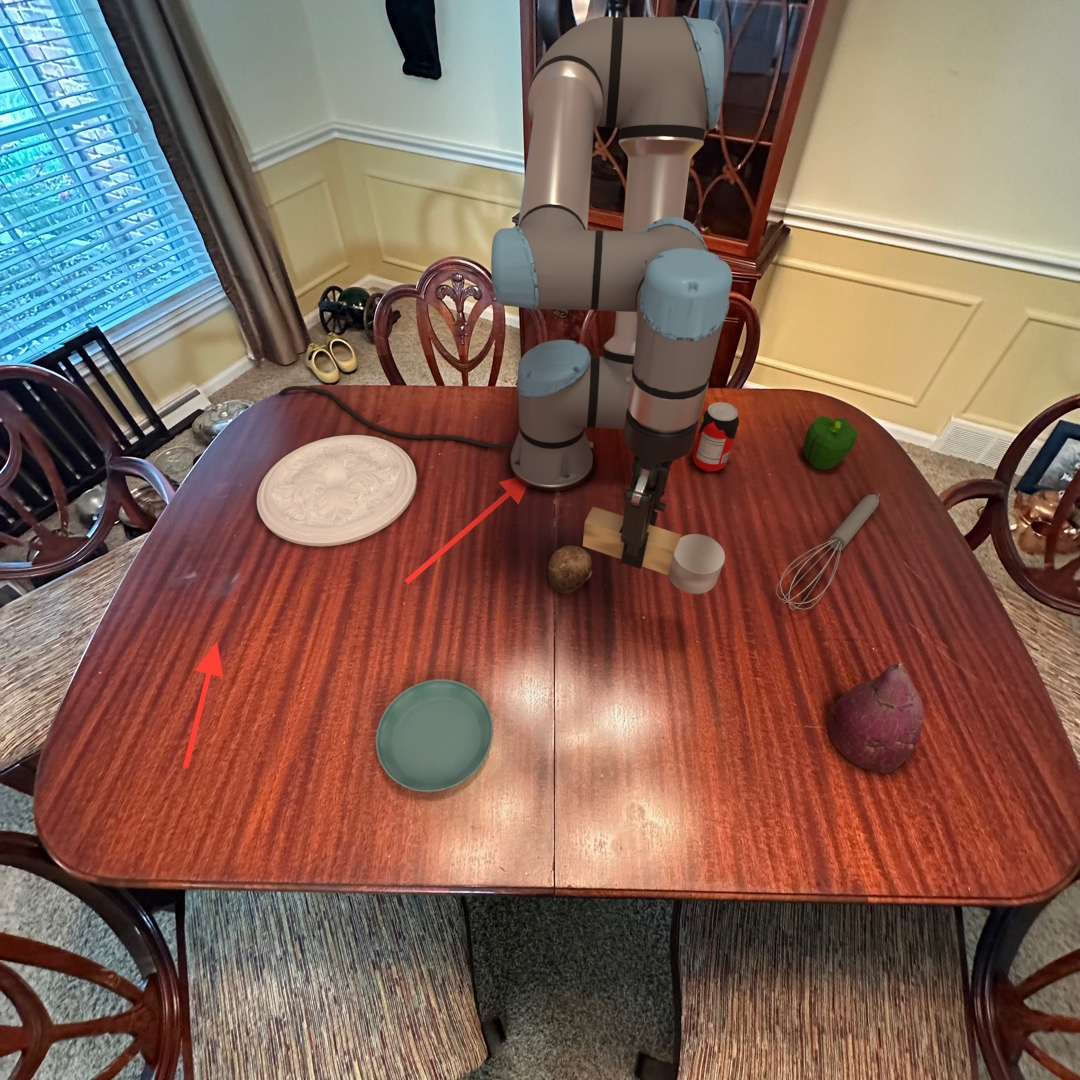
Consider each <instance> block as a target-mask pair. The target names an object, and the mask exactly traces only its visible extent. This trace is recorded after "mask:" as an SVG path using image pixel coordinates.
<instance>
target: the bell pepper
mask: <svg viewBox="0 0 1080 1080" xmlns="http://www.w3.org/2000/svg"><path fill="white" fill-rule="evenodd" d="M857 439H858V430H857V429H856V428H854V427H853V426H852V424H850V422H849V421H848V420H847V419H846V418H839V417H836V418H834V419H832V418H830V417H829V416H824V415H820V416H818V418H816V419H815V420H814V421H812V423H811V424H810V425H808V429H807V432H806V434H805V436H804V442H803V452H802V453H803V457H804V458H805V460H806V461H808V462H809V465H810V466H812V467H813V468H814V469H818V470H820V471H828V470H830V469H832V468H834V467H836V466H837V465H838V464H839V463H841V461H842V460H843V459H844V458H845V457H846V456H847V455H848V454H849V453H850V452H851V450H852V449H853V448H854V445H855V444H856V442H857Z"/></svg>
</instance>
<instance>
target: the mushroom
mask: <svg viewBox="0 0 1080 1080" xmlns="http://www.w3.org/2000/svg"><path fill="white" fill-rule="evenodd" d="M592 566H593V558H592V557H591V554H589V552H588V551H587V550H586V549H585V548H583V547H581V546H579V545H564V546H563V547H561V548H558V549H556V551H555V552H554V553H553V554H552V555H551V557H550V559H549V561H548V565H547V569H546V570H547V577H548V581H549V584H550V587H551V588H552V589H553V590H555V591H556V592H558V593H560V594H571V593H573V592H575V591H577V590H578V589H580V588H581V587H582V586H583V585H584V584H585V582H586V581H588V580H589V579H590V578H591V577H592V576H593V570H592Z"/></svg>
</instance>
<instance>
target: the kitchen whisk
mask: <svg viewBox="0 0 1080 1080" xmlns="http://www.w3.org/2000/svg"><path fill="white" fill-rule="evenodd" d="M880 495H881V492H877V493H876V494H872V493H871V494H867V495H866V496H864V497H862V499H861V500H860V501H859V502H858V503H857V504H856V506H855V507H854V508H853V509H852V510H851V512H850V513H849V514H848V515H847V517H846V518H845V519H844V520H843V521H842V523H840V525H839V527H837V529H836V530H835V531H834V532H833V533H832V534H831V536H830V537H829V538H828V541H826V542H824V543H822V544H819V545H817V546H815V547H813V548H811V549H810V550H808V551H806V552H805V553H803V554H802V555H800V556H798V557H797V558H796V559H794V560H793V561H792V562H791V563H790V564H789V565H788V566H787V567H786V568H785V570H784V571H783V573H782V575H781V577H780V578H781V579H780V580H779V581H778V583H777V585H776V586H775V595H776V596H777V597H778V599H780V600H781V603H782V604H787V603H788V607H789V609H791V610H793V611H794V610H795V609H798V610H802V611H804V610H809V609H812V608H813V607H814V606H815V605H816V604H818V603H819V601H820V600H821V598H822V597H823V596H824V594H825V592H826V590H827V588H829V586H830V584H831V582H832V580H833V579H834V576H835V573H836V572H837V568H838V565H839V562H840V558H841V551H842V550H844V549H845V548H846V546H847V545H849V543H850V542H851V540H852V539H853V538H854V536H855V535H856V534H857V533H858V531H859V530H860V529H861V528H862V526H863V525H864V524H865V523H866V522H867V520H868V519H869V518H870V517H871V516H872V515H873V513H874V512H875V510H876V509H877V508H878V507H879V504H880V498H879V497H880ZM821 546H823V547H821ZM827 546H830V547H829V548H828V549H827V551H825V553H823V554H822V555H821V556H820V557H819V558H818V560H816V561H815V562H814V563H813V565H812V566H810V567H809V569H808V570H807V571H805V573H804V574H803V575H802V576H801V577H800V578H799V579H798V580H797V582H795V580H796V577H797V576H798V575H799V573H800V571H801V570H802V569H803V567H804V566H805V565H806V564H807V563H808V562H809V561H810V560H811V559H812V558H813V557H815V555H817V554H818V553H819V552H820V551H822V550H823V549H824V548H826V547H827ZM819 547H821V548H819ZM817 548H819V549H817ZM816 549H817V550H816ZM831 549H833V552H832V554H831V556H830V558H828V561H826V564H825V565H824V566H823V567H822V569H821V570H820V571H819V573H818V574H817V575H816V577H815V578H814V579H813V580H812V581H811V582H810V583H809V584H808V585H807V586H806V587H805V588H804V589H802V591H800V592H799V593H797V594H796V596H794V597H792V598H791V599H790V595H791V591H792V590H793V589H794V588H795V586H796V585H797V584H798V583H799V582H800V581H801V580H802V579H803V578H804V577H805V576H806V574H807V573H808V572H810V570H811V569H812V568H814V566H815V565H816V564H817V563H818V562H819V561H820V560H821V559H822V558H823V557H824V556H825V555H826V554H827V553H828V552H829V551H830V550H831ZM813 550H815V551H814V552H813V553H811V554H810V555H808V556H806V557H805V558H804V559H802V560H801V561H800V562H798V563H797V564H796V565H794V566H793V567H792V568H791V569H789V568H790V567H791V566H792V565H793V564H794V563H796V561H798V560H799V559H800V558H802V557H804V556H805V555H806V554H808V553H809V552H811V551H813ZM836 551H837V554H836V558H835V562H834V565H833V568H832V572H831V574H830V576H829V580H828V582H827V584H826V586H825V588H824V589H823V590H822V591H821V593H820V594H818V595H817V596H816V597H814V598H812V599H810V600H808V601H806V599H807V598H808V597H809V595H810V594H811V592H812V591H813V589H814V588H815V586H816V585H817V583H818V581H819V580H820V578H821V577H822V575H823V573H824V571H825V570H826V568H827V566H828V565H829V563H830V561H831V560H832V558H833V556H834V555H835V552H836ZM805 560H806V561H805ZM804 561H805V562H804ZM802 562H804V563H803V564H802V566H801V567H800V568H799V569H798V570H797V572H796V574H795V575H794V578H793V579H792V581H791V584H790V587H789V590H788V592H787V593H786V594H784V592H783V587H782V581H783V580H784V578H785V577H786V576H787V575H788V574H789V573H790V572H791V571H792V570H793V569H794V568H796V567H798V565H800V564H801V563H802ZM787 570H788V571H787ZM816 579H817V580H816ZM815 580H816V581H815ZM814 581H815V583H814ZM794 582H795V584H794ZM813 583H814V585H813V586H812V587H811V589H810V591H809V592H808V593H807V595H806V596H805V598H803V600H802V601H801V602H794V601H793V600H794V599H796V598H797V597H798V596H800V595H801V594H802V593H803V592H805V591H806V590H807V589H808V588H809V587H810V586H811V585H812V584H813ZM793 584H794V585H793ZM778 587H779V588H780V592H781V595H782V596H783V598H781V597H780V596H779V594H778ZM787 596H788V597H787ZM814 600H816V602H815V603H813V604H812V605H811V606H809V607H805V608H801V607H800V606H801V605H802V604H808V603H810V602H813V601H814ZM795 604H796V605H797V606H795ZM791 606H793V608H792V607H791Z"/></svg>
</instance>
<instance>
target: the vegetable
mask: <svg viewBox="0 0 1080 1080" xmlns="http://www.w3.org/2000/svg"><path fill="white" fill-rule="evenodd" d="M826 717H827V718H826V719H827V730H828V737H829V740H830V741H831V744H832V745H833V746H834V747H835V749H836V750H837V751H838V752H839V753H840V754H841V755H842V756H843V757H845V758H846V759H847V760H848V761H849V762H850V763H852V764H854V765H855V766H857V767H858V768H862V769H865V770H867V771H871V772H874V773H879V774H890V773H893V772H894V771H895V770H897V769H898V768H899V767H900V766H902V764H904V763H905V762H906V761H907V760H908V758H909V757H910V755H911V754H912V753H913V751H914V750H915V748H916V746H917V744H918V742H919V739H920V737H921V733H922V728H923V724H924V721H925V720H924V719H925V718H924V717H925V707H924V704H923V701H922V698H921V696H920V694H919V692H918V691H917V689H916V687H915V686H914V683H913V682H912V680H911V676H910V675H909V673H908V671H907V670H906V667H905V666H904V663H903V662H898V663H894V664H892V665H890V666H888V667H887V668H885V669H884V671H882V672H881V673H880V675H878V676H875V677H874V678H872V679H869V680H865V681H863V682H861V683H859V684H857V685H855V686H854V687H852V688H851V689H849V690H848V691H847V692H845V693H844V694H843V695H842V696H841V697H840V698H838V700H837V701H836V703H834V705H833V706H832V707H831V708H830V709H829V711H828V713H827V716H826Z"/></svg>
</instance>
